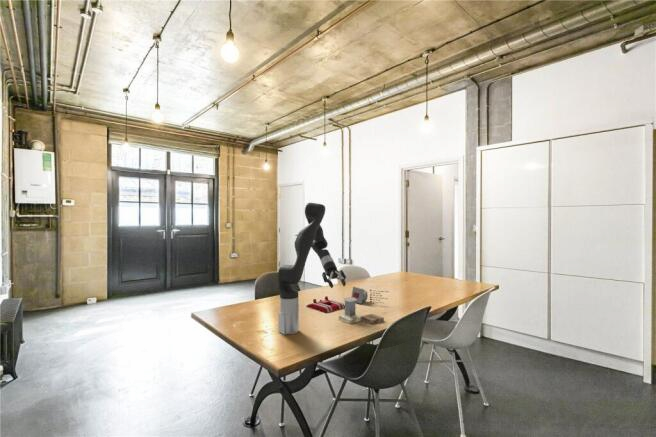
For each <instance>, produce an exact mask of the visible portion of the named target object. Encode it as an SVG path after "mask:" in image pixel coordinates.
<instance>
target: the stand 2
mask: <svg viewBox="0 0 656 437" xmlns="http://www.w3.org/2000/svg"><path fill="white" fill-rule="evenodd" d="M360 317H362V321H361V322H363V323H364V322H365V323H366V324H369V325H375V324H379V323H382V322H385V320H384V319H385V318H384V317H382V316H380V315H377V314H374V313H369V314H366V315H365V314H364V315H361V316H360Z"/></svg>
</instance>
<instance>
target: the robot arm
mask: <svg viewBox="0 0 656 437" xmlns="http://www.w3.org/2000/svg"><path fill="white" fill-rule="evenodd" d="M325 214H326V206H325V205H324V204H322V203H315V202H307V203H306V204H305V207H304V215H305V218H306V221H307V223H308V224H307V225H306V226H305V227H303V228H301V230H299V232H298V234H297V236H296V238H295V241H294V249H295V252H296V260H295V262H294V264H282V265H281V266H280V267H279V268H278V271H277V280H278V281H277V282H278V284H277V285H278V286H277V287H278V294H279V312H278V315H277V316H278V332H279V333H281V334H282V335H283V336H285V335H294V334H297V333H299V327H300V326H299V324H300V322H299V317H300V316H299V313H300V312H299V310H300V309H299V307H300V306H299V291H298V290H297V289H295V288H294V287H293V286H292V284H293V285H297V284H299V283H300V282H301V279H302V276H303V273H304V271H305V265H306V263H307V259H308V256H309V253H310V251H311V249H312V250H313V251H314V252H315V254H316V255H317V256H318V258H319V260H320V263H321V266H322V268H323V270H324V271H323V272H322V274H321V276H322V279H323V282H324V283H327V284H328V286H329V287H330V289H333V287H334V284H333V282H332V280H334V279H335V280H338V281H340V282H341V284H342V286H343V287H346V285H347V282H346V281H345V280H346V279H347V276H346V274H345V272H344V271H343V269H341V270H338V268H337V265H336V263H335V261H334V258H333V257H332V256H331V253H330V252H329V250H328V249H326V248H327V247H328V240H327V239H326V238H325V236H324V229H323V227H322V225H321V223H322V221H323V220H324V216H325Z"/></svg>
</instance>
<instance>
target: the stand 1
mask: <svg viewBox="0 0 656 437" xmlns="http://www.w3.org/2000/svg"><path fill="white" fill-rule="evenodd" d="M356 315H357V314H356ZM338 320H339V321H341V322H344V323H346V324H354V323H357V322H363V321H362V317H361V316H360V315H357V317H354V318H347V317H345V316H344V314H343V315H339V316H338Z"/></svg>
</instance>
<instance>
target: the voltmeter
mask: <svg viewBox="0 0 656 437" xmlns="http://www.w3.org/2000/svg"><path fill="white" fill-rule="evenodd" d="M351 291H352V292H351V297H352V298H356V301H355V304H356V303H357V304H360V305H362V304H363V302H366V301H367V300H368V296H369V295H370V296H369V300H370V301H369V303H372V304H373V305H377V304H378V303H379V302H380V304H383V301H382V302H381V300H382V299H384V300H385V298H384V297H383V295H380V297H381V300H380V299H379V293H381V292H382V293H389V291H387V290H385V291H384V290H379V289H378V290H377V292H375V290H372V289H370V290H369V293H370V294H368V291H366V290H365V289H363V288H361V287H358V286H352V290H351ZM372 292H373V296H372ZM372 298H373V299H372ZM386 300H388V298H386ZM373 301H374V302H373ZM377 301H378V302H377Z"/></svg>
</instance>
